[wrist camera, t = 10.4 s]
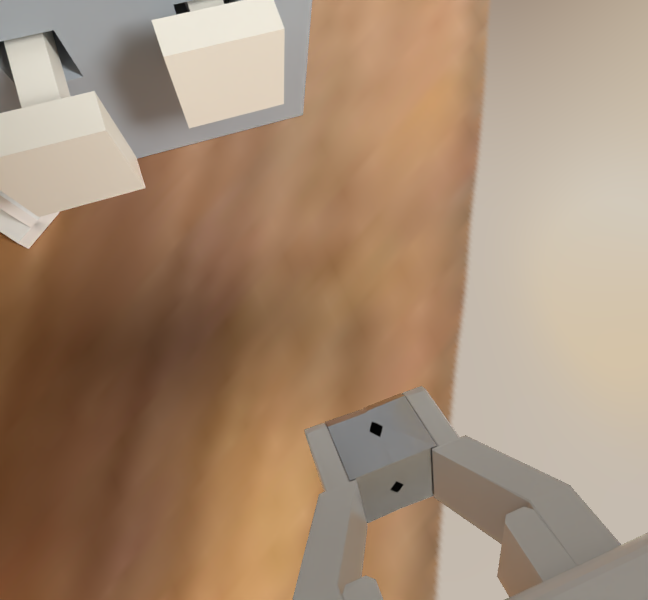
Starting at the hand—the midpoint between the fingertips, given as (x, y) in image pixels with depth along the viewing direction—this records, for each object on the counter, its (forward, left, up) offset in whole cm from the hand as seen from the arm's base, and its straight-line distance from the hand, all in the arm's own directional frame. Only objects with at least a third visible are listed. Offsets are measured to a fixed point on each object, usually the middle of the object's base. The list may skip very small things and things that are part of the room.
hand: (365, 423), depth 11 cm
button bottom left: (-6, +12, -4) cm, 14 cm away
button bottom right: (0, +14, -4) cm, 14 cm away
